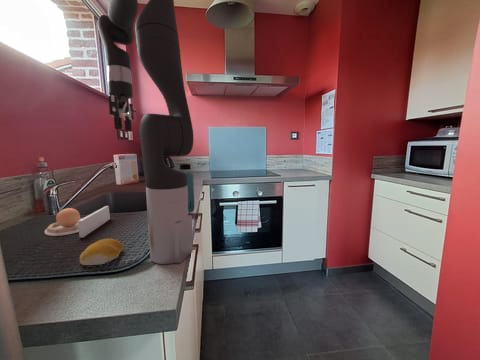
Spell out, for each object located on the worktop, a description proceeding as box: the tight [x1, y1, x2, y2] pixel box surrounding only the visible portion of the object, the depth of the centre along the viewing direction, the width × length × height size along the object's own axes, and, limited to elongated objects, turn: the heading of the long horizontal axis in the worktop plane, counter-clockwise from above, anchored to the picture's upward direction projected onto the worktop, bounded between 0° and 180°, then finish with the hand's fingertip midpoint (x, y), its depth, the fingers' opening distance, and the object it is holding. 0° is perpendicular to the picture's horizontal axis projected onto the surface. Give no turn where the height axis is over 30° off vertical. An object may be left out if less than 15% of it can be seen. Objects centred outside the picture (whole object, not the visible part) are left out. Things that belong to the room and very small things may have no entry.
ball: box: [55, 207, 81, 227], centre depth 69 cm, size 6×6×6 cm
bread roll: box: [79, 238, 124, 266], centre depth 51 cm, size 8×9×4 cm
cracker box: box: [113, 153, 140, 186], centre depth 151 cm, size 14×6×21 cm, turn 152°
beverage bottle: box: [179, 163, 195, 214], centre depth 82 cm, size 6×7×20 cm
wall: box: [78, 205, 111, 238], centre depth 70 cm, size 16×1×5 cm, turn 7°
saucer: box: [44, 217, 84, 237], centre depth 69 cm, size 12×12×2 cm
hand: (123, 130), depth 77 cm, fingers open, 8 cm apart
